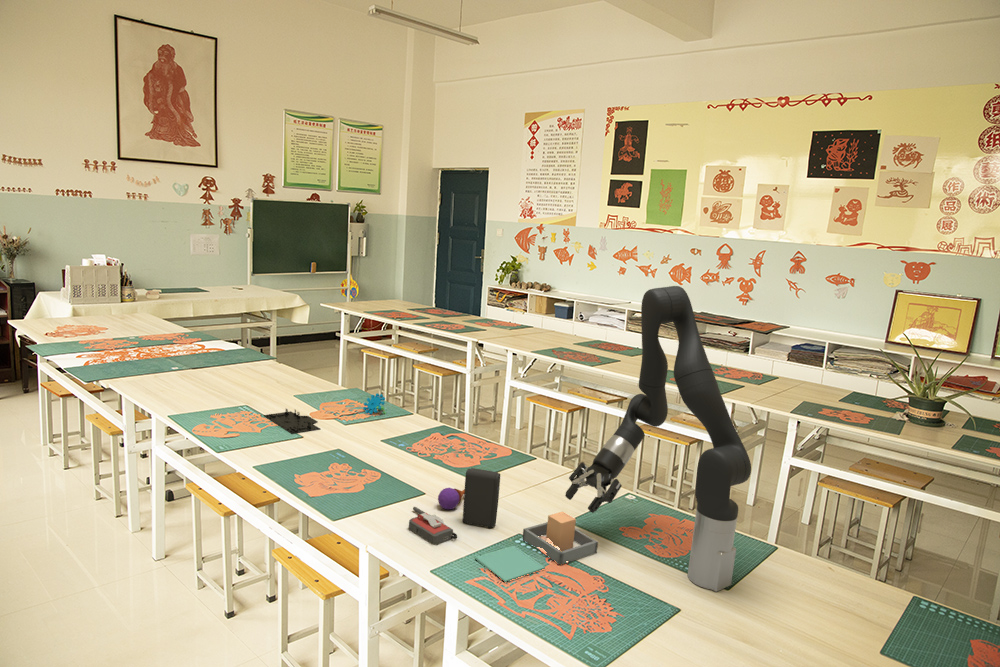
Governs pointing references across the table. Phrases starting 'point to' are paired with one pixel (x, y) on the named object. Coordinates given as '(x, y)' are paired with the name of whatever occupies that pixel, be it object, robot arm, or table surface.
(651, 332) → the robot arm
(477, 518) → the card reader
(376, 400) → the gear
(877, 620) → the table surface
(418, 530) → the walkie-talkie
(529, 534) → the grey rectangular frame
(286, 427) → the circuit board
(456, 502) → the kendama
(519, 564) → the mat
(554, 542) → the block
